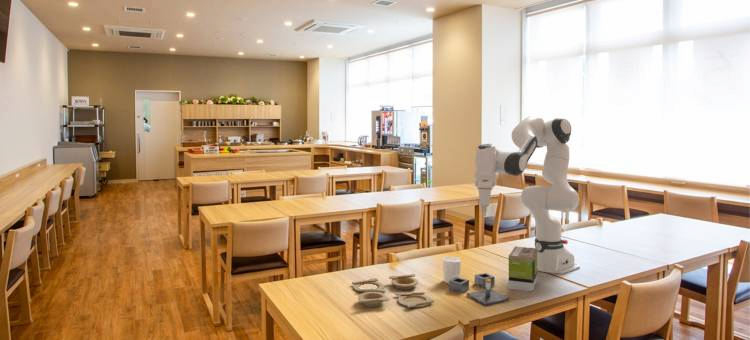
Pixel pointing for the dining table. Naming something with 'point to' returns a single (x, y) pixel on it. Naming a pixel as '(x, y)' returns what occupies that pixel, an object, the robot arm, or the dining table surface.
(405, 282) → the tableware set
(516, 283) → the tea box
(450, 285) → the link
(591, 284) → the dining table surface
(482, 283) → the link
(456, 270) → the white cup
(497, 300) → the post
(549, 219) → the robot arm
